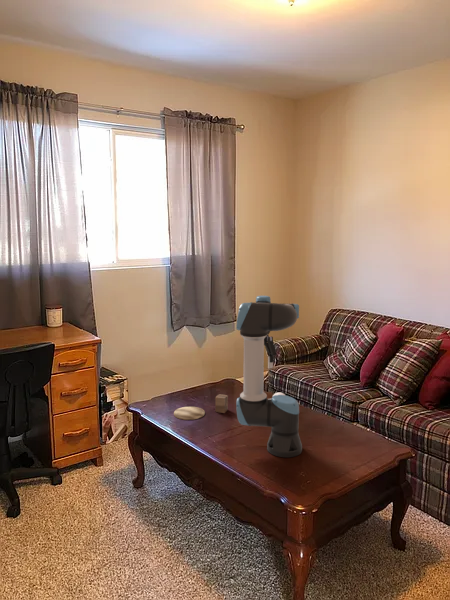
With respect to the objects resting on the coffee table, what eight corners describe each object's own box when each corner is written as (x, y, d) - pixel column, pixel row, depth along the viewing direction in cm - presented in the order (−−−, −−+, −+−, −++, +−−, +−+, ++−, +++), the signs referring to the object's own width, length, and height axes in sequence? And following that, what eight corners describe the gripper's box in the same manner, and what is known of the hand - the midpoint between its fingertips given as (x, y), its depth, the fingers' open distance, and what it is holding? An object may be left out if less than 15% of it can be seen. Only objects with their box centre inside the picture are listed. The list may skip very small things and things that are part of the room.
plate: (197, 421, 244) (197, 420, 244) (168, 417, 249) (168, 415, 249) (209, 410, 258) (209, 408, 258) (182, 406, 264) (182, 404, 264)
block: (224, 413, 255) (224, 398, 254) (215, 411, 257) (215, 397, 255) (227, 409, 260) (227, 395, 258) (218, 408, 261) (218, 394, 260)
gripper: (284, 328, 247) (283, 369, 250) (254, 320, 267) (254, 358, 271) (272, 330, 243) (271, 372, 246) (243, 322, 263) (243, 360, 267)
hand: (262, 365), depth 258 cm, fingers open, 13 cm apart
